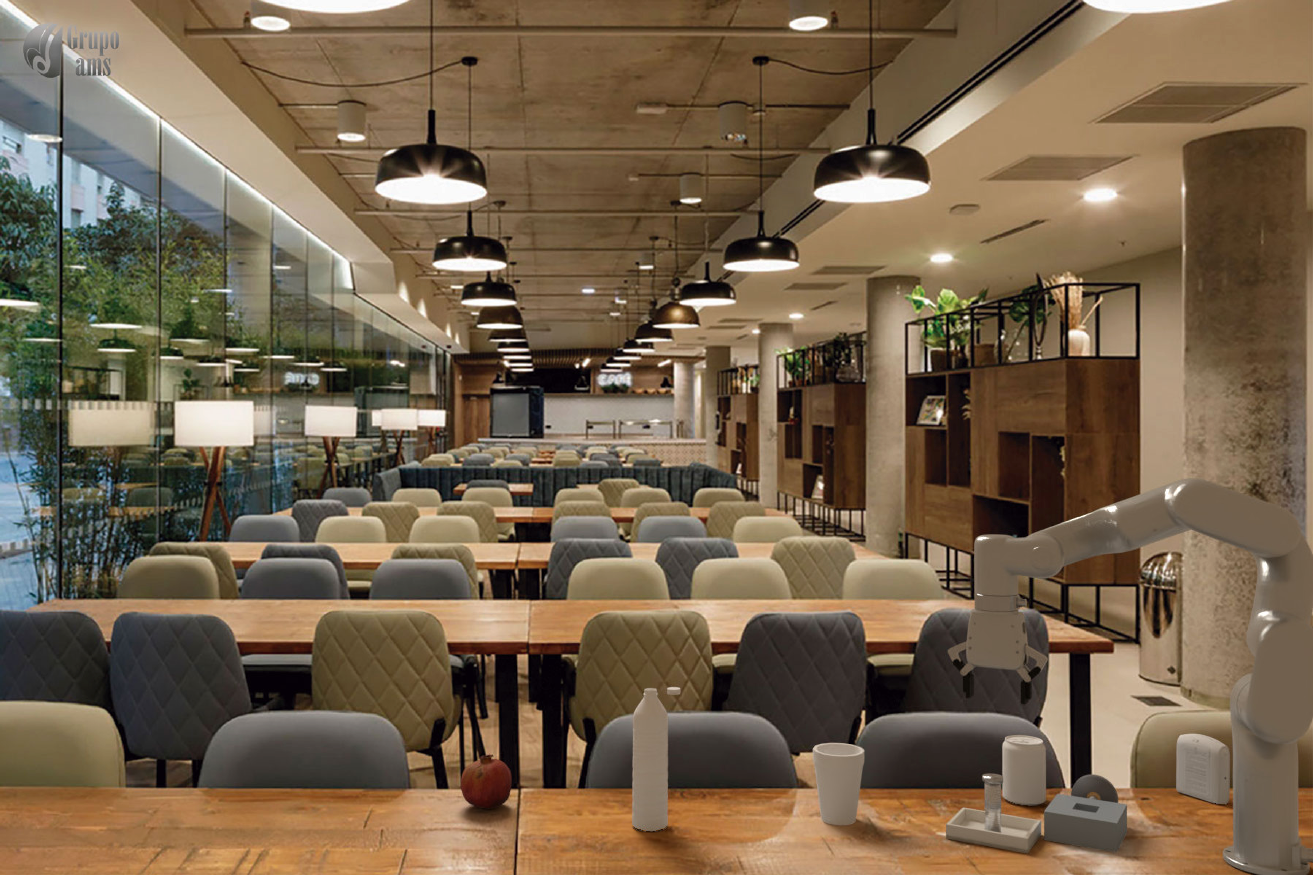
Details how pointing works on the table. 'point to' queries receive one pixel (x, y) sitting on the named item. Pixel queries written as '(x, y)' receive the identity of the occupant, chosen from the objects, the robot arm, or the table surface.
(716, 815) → the table surface
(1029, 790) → the beverage can
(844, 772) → the foam cup
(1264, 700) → the robot arm
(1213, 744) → the photo printer
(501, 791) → the fruit
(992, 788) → the lock pin
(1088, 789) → the tensioner block
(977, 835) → the tray
